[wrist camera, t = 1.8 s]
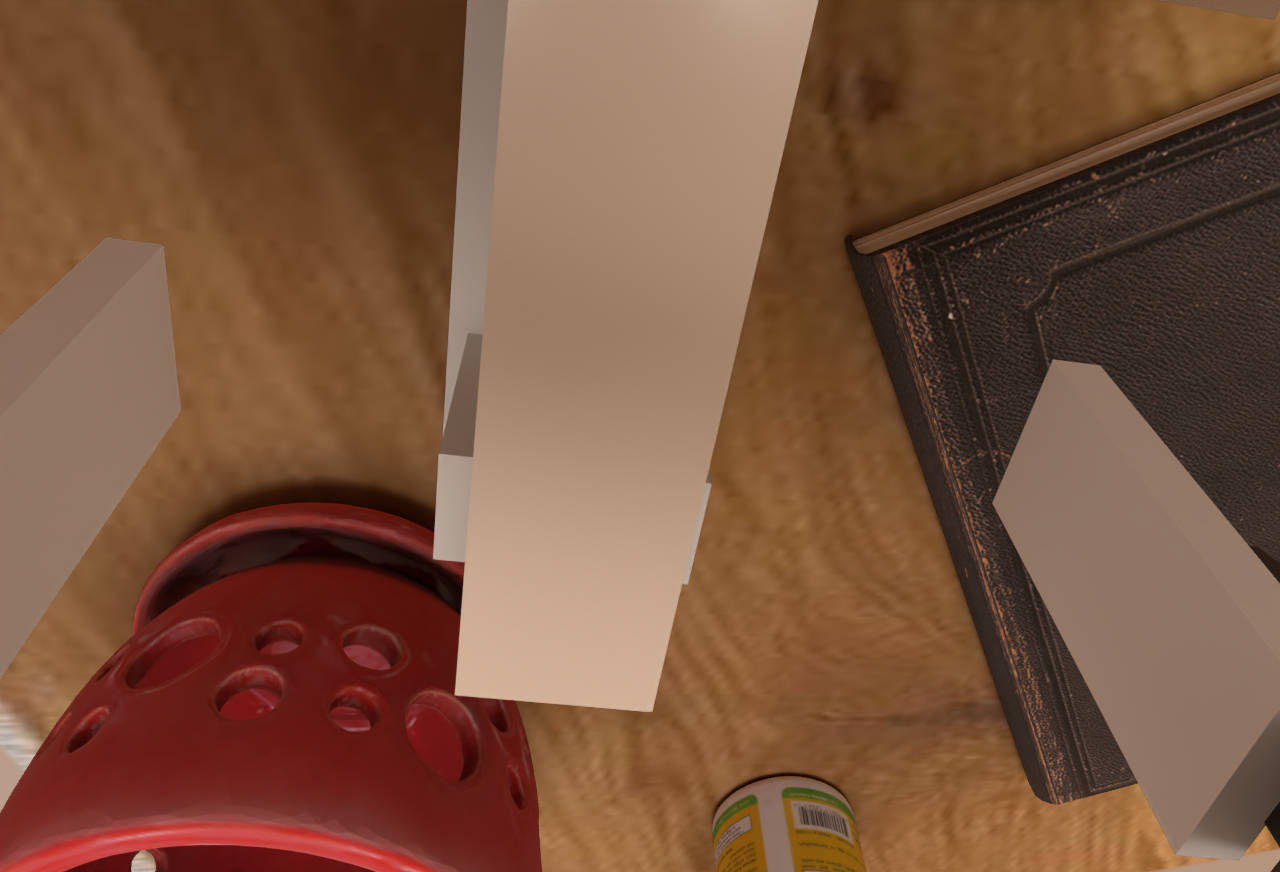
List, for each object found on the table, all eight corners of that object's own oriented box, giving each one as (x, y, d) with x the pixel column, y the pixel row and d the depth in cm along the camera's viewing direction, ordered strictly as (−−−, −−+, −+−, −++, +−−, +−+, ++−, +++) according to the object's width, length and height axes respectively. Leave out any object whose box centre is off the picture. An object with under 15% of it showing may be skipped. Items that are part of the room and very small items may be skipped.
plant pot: (114, 702, 35) (-86, 1084, 25) (187, 399, 28) (-44, 753, 18) (480, 794, 38) (434, 1166, 28) (622, 542, 31) (628, 910, 21)
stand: (491, -367, 19) (448, -409, 14) (853, -297, 20) (936, -313, 15) (444, 431, 29) (410, 573, 24) (688, 458, 30) (704, 602, 25)
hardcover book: (1512, -41, 23) (1594, -23, 21) (1482, 629, 35) (1532, 680, 33) (837, 228, 26) (854, 265, 25) (1018, 757, 38) (1040, 810, 36)
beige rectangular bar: (553, -343, 14) (536, -371, 11) (826, -290, 15) (889, -303, 12) (476, 563, 24) (454, 695, 20) (646, 580, 24) (651, 711, 21)
